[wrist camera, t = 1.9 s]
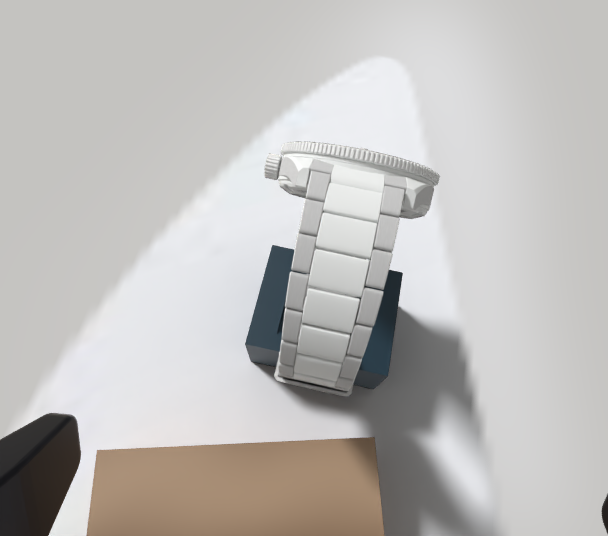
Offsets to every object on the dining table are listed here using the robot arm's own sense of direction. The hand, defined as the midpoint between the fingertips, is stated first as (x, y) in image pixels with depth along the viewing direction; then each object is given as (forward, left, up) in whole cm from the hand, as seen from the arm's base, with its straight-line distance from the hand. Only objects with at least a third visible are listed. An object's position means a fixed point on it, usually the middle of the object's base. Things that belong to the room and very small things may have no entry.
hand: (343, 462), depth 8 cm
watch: (+6, -1, -12) cm, 14 cm away
